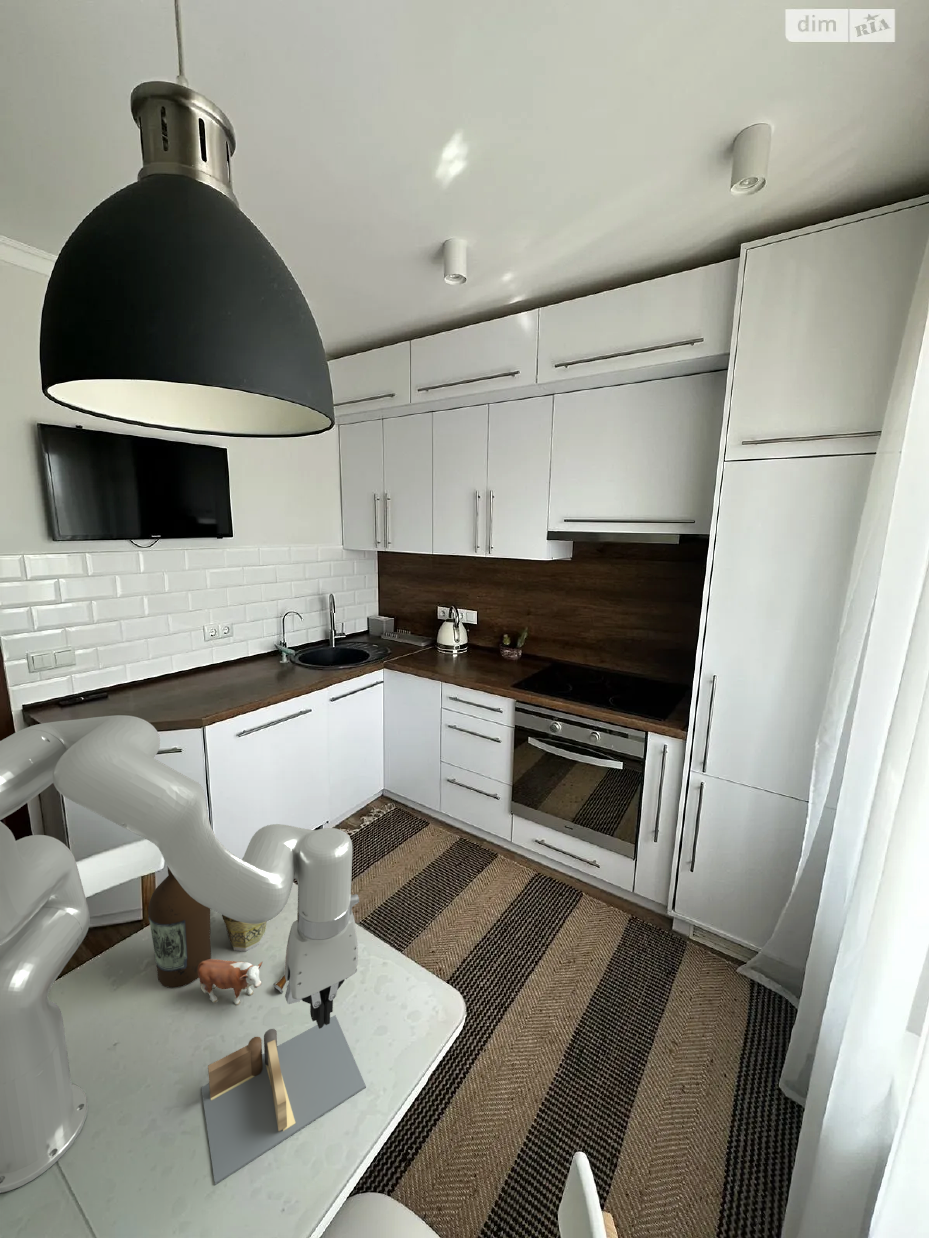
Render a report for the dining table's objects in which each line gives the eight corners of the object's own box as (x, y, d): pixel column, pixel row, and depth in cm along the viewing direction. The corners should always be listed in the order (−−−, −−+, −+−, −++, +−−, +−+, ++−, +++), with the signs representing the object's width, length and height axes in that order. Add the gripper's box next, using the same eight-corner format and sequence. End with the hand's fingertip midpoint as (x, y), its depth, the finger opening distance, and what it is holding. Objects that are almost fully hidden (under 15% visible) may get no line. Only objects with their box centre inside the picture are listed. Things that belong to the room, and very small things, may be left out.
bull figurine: (257, 1016, 90) (256, 978, 89) (193, 999, 93) (191, 963, 91) (271, 994, 94) (270, 958, 93) (210, 979, 97) (207, 943, 96)
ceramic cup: (259, 960, 102) (257, 918, 100) (212, 956, 102) (209, 914, 100) (285, 912, 114) (284, 874, 113) (243, 909, 115) (242, 871, 113)
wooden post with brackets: (315, 958, 102) (307, 947, 99) (286, 999, 96) (278, 989, 94) (309, 954, 103) (301, 943, 100) (280, 994, 97) (272, 984, 95)
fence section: (211, 1101, 76) (209, 1072, 75) (209, 1088, 78) (207, 1061, 77) (263, 1071, 81) (262, 1044, 80) (261, 1060, 82) (259, 1034, 81)
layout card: (215, 1184, 67) (214, 1182, 67) (201, 1088, 78) (201, 1086, 78) (365, 1087, 79) (365, 1085, 79) (335, 1016, 91) (335, 1014, 91)
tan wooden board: (263, 1056, 83) (263, 1031, 82) (276, 1050, 84) (275, 1026, 83) (275, 1132, 72) (274, 1105, 72) (289, 1125, 73) (289, 1098, 73)
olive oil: (178, 942, 105) (170, 837, 101) (225, 948, 104) (219, 842, 100) (141, 987, 95) (130, 872, 90) (192, 994, 94) (184, 878, 89)
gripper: (361, 881, 80) (357, 977, 83) (264, 916, 71) (264, 1022, 74) (381, 911, 74) (376, 1014, 77) (278, 954, 65) (277, 1067, 68)
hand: (321, 1018), depth 76 cm, fingers closed
